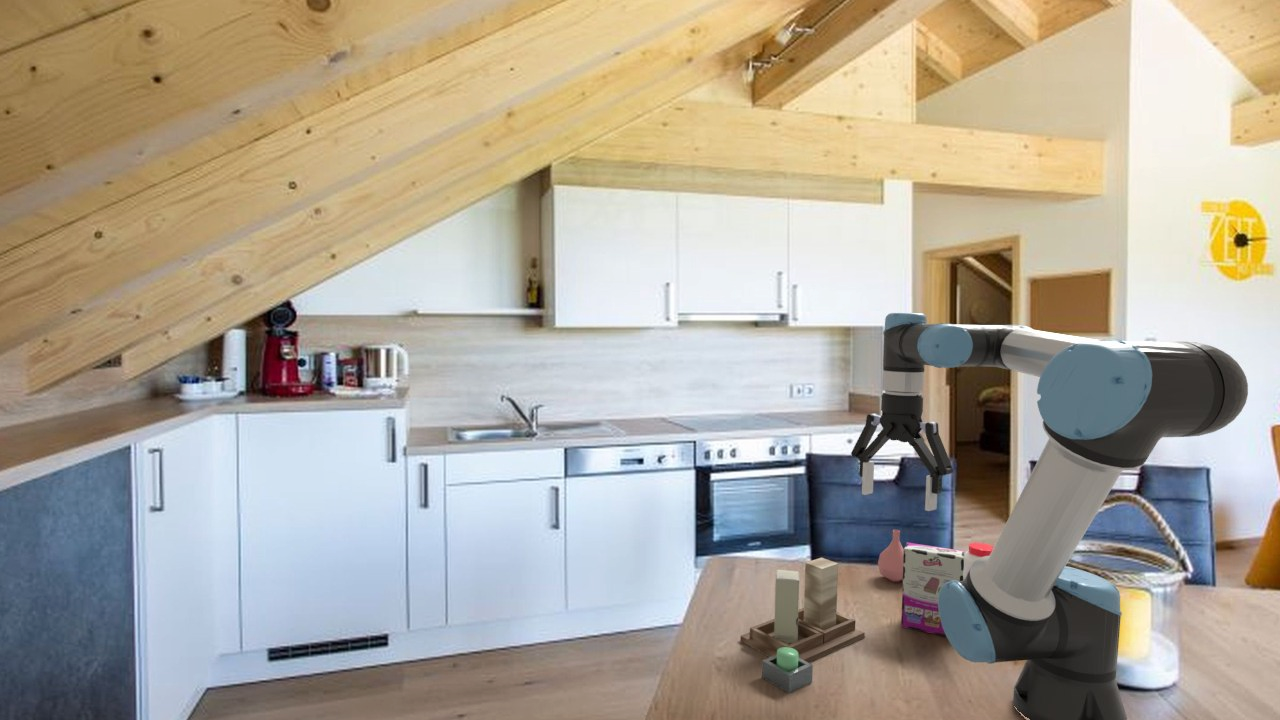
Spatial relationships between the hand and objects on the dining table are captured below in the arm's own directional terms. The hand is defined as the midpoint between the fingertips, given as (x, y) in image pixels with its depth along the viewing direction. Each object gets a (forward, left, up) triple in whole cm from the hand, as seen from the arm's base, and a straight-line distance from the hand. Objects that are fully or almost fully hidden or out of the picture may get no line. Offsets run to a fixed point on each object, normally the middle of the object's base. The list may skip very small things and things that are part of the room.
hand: (897, 501), depth 131 cm
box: (+9, +21, -26) cm, 35 cm away
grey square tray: (+1, +30, -27) cm, 40 cm away
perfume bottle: (+16, -26, -27) cm, 41 cm away
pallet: (+9, +16, -27) cm, 32 cm away
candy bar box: (-3, -9, -27) cm, 29 cm away
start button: (+1, +30, -26) cm, 40 cm away
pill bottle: (0, -35, -27) cm, 44 cm away
